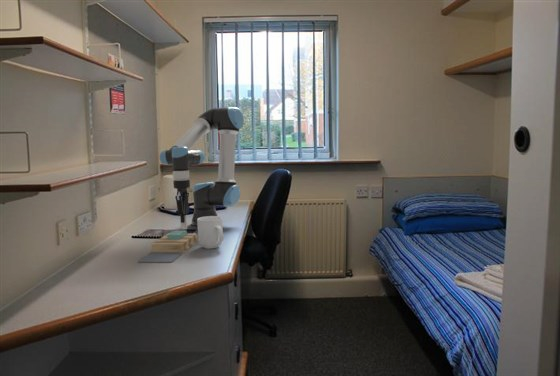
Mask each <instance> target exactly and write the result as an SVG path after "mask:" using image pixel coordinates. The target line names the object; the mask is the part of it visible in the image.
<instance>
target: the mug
mask: <svg viewBox="0 0 560 376" xmlns="http://www.w3.org/2000/svg"><path fill="white" fill-rule="evenodd" d="M196 227H197V236H198V239H199V242H200V244H201V246H202V248H203V249H207V250H208V249H210V250H211V249H216V248H218V247H219V246H220V245H221V244H222V243H223V242H224V231H223V217H221V216H218V215H217V216H205V217H200V218H198V219H197V226H196Z"/></svg>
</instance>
